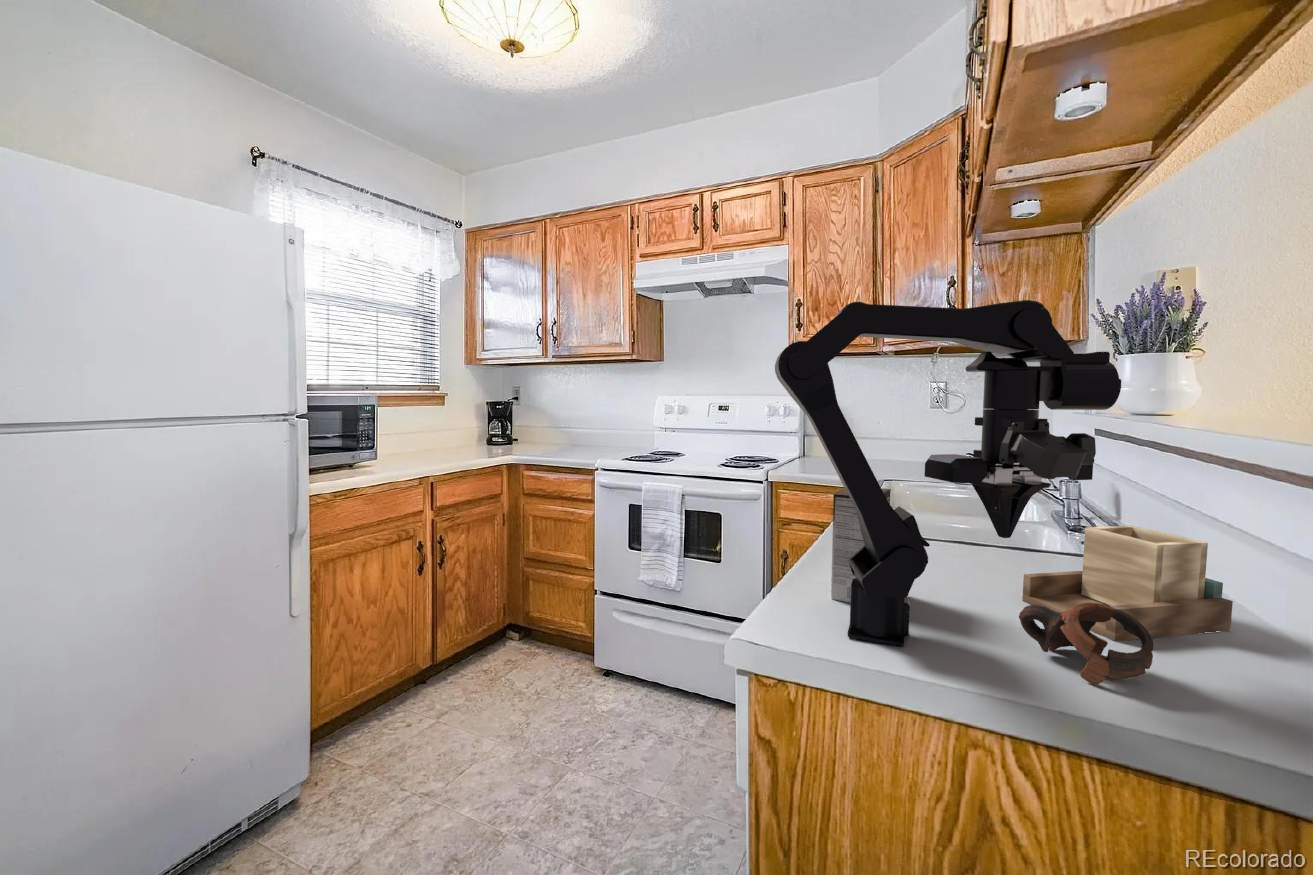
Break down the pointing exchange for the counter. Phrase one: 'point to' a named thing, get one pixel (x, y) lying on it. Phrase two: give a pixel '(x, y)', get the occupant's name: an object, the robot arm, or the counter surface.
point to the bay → (1134, 607)
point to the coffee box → (845, 543)
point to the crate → (1141, 566)
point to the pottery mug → (1089, 639)
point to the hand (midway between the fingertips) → (1004, 537)
